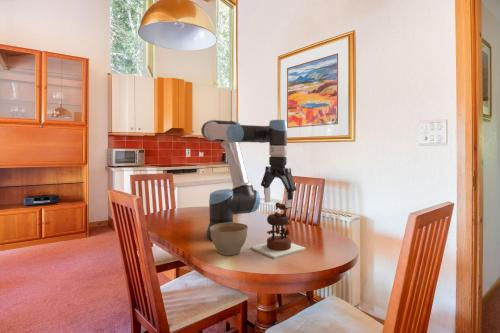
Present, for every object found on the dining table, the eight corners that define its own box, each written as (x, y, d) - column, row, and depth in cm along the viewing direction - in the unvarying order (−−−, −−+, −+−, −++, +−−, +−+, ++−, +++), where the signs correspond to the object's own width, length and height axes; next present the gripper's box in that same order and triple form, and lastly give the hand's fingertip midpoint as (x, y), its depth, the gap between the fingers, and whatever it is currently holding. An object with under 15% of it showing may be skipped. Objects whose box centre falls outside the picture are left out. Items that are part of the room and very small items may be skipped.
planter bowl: (232, 243, 139) (232, 220, 138) (255, 252, 127) (255, 227, 126) (202, 251, 128) (202, 226, 128) (225, 261, 116) (225, 234, 116)
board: (250, 248, 132) (250, 246, 132) (280, 240, 143) (280, 239, 143) (274, 258, 119) (274, 256, 119) (305, 249, 130) (305, 247, 130)
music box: (279, 240, 140) (282, 199, 138) (297, 248, 132) (301, 204, 130) (255, 247, 130) (258, 202, 128) (274, 256, 122) (277, 208, 120)
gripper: (253, 155, 137) (253, 201, 138) (292, 157, 117) (291, 210, 118) (266, 155, 141) (265, 199, 142) (305, 156, 121) (304, 208, 123)
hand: (277, 204), depth 130 cm, fingers open, 13 cm apart
